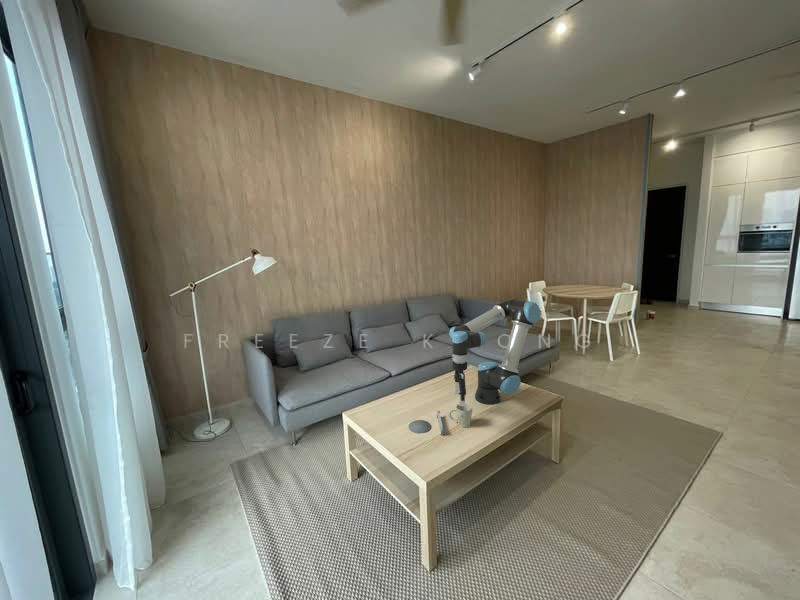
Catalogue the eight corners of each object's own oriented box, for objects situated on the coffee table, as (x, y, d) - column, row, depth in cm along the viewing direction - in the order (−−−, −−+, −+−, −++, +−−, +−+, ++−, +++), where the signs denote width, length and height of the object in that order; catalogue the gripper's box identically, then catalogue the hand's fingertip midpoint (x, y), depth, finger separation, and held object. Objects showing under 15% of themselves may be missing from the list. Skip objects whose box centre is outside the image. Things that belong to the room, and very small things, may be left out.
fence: (439, 417, 177) (439, 410, 177) (444, 435, 160) (443, 428, 159) (436, 417, 177) (436, 410, 177) (440, 435, 160) (440, 428, 159)
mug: (472, 429, 164) (472, 411, 163) (448, 427, 167) (448, 410, 165) (472, 420, 172) (472, 403, 171) (449, 419, 175) (448, 402, 173)
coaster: (429, 420, 175) (429, 419, 175) (432, 432, 163) (432, 432, 163) (408, 421, 175) (408, 420, 175) (408, 433, 163) (408, 433, 163)
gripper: (448, 353, 176) (449, 389, 179) (456, 370, 151) (456, 411, 155) (462, 353, 176) (462, 388, 179) (472, 370, 151) (472, 411, 155)
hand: (459, 399), depth 167 cm, fingers open, 13 cm apart
